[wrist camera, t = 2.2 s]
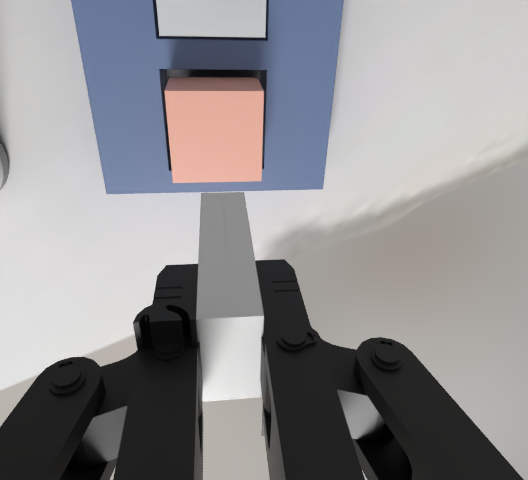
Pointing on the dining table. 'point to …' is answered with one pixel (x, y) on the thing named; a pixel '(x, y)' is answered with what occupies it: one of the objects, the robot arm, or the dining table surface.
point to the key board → (208, 57)
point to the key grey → (212, 18)
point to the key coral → (215, 128)
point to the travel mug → (3, 167)
